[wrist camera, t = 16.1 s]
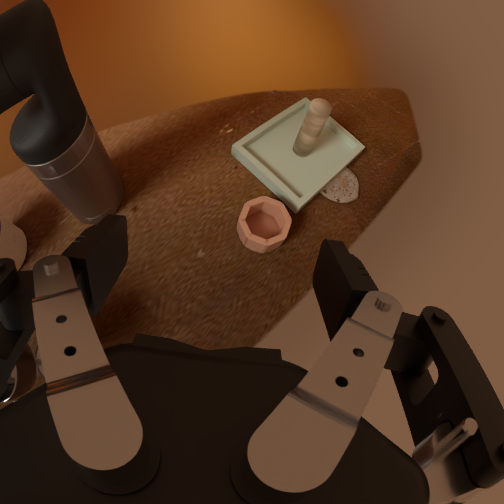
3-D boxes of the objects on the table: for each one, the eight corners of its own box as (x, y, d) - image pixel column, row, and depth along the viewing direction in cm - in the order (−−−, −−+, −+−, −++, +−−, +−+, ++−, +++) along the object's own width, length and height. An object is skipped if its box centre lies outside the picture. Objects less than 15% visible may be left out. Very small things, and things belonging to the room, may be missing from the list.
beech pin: (289, 144, 47) (307, 99, 36) (304, 140, 47) (324, 96, 37) (298, 159, 46) (318, 115, 36) (313, 154, 47) (336, 111, 36)
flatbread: (306, 188, 46) (308, 185, 45) (322, 156, 48) (324, 152, 47) (350, 213, 46) (353, 211, 45) (363, 179, 48) (366, 176, 47)
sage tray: (295, 214, 44) (300, 207, 42) (231, 154, 46) (232, 145, 44) (359, 154, 49) (365, 146, 47) (302, 105, 51) (305, 97, 48)
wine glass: (25, 355, 33) (-39, 356, 19) (53, 323, 35) (-10, 312, 21) (55, 397, 32) (-5, 415, 18) (85, 365, 35) (27, 375, 20)
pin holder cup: (230, 218, 43) (232, 207, 39) (271, 203, 44) (276, 190, 41) (249, 259, 42) (253, 252, 38) (291, 242, 43) (298, 233, 39)
